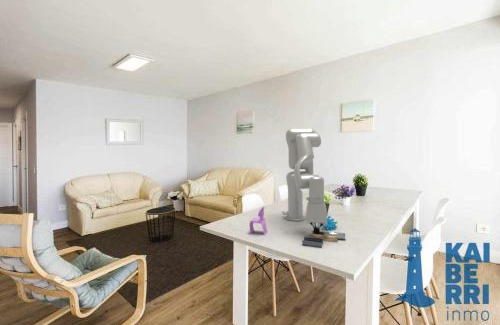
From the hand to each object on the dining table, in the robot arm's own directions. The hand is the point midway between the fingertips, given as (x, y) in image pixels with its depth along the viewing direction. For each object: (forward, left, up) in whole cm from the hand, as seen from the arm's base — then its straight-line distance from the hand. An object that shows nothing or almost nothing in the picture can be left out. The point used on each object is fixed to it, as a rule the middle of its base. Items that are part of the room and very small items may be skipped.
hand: (316, 235), depth 130 cm
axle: (+8, 0, -1) cm, 8 cm away
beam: (+4, 0, -2) cm, 4 cm away
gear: (+5, +17, -2) cm, 18 cm away
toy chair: (-32, -2, -2) cm, 32 cm away
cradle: (-1, -10, -2) cm, 10 cm away
